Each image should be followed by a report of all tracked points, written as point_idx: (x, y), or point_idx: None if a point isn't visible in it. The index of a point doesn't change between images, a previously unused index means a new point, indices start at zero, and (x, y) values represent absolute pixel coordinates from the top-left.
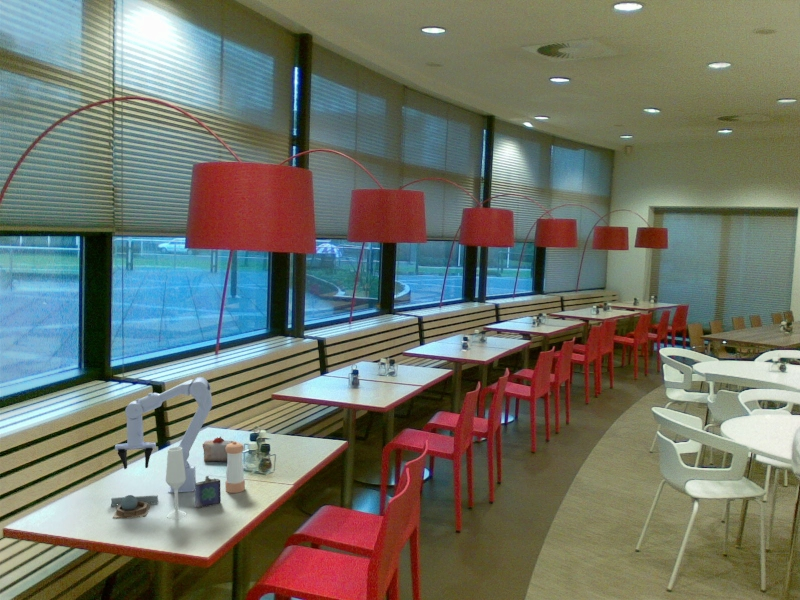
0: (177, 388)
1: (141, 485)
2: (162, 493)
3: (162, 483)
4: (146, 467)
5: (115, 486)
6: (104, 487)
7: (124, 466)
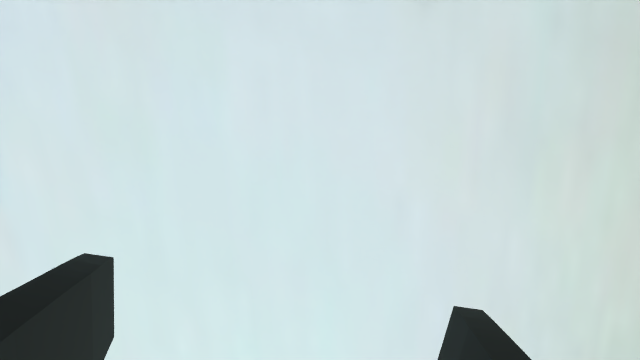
0: None
1: (272, 303)
2: (40, 29)
3: None
4: (88, 258)
5: None
6: (581, 347)
7: (496, 334)
